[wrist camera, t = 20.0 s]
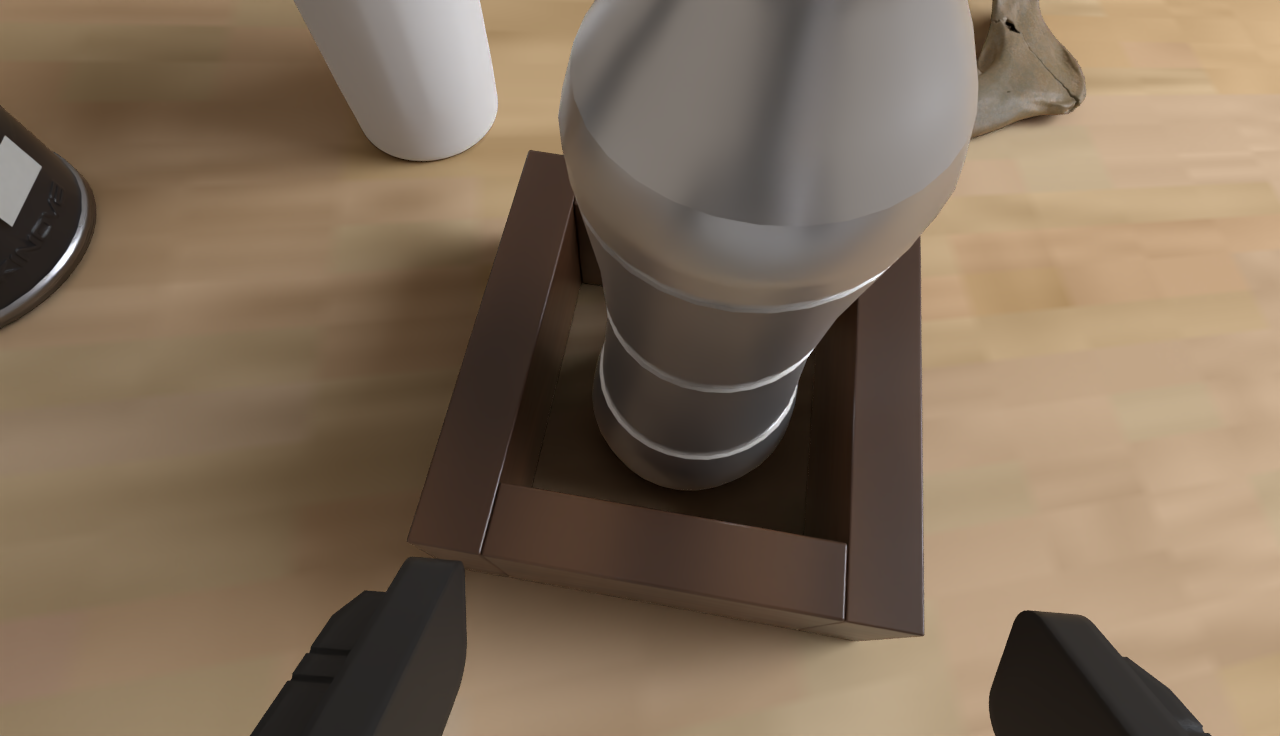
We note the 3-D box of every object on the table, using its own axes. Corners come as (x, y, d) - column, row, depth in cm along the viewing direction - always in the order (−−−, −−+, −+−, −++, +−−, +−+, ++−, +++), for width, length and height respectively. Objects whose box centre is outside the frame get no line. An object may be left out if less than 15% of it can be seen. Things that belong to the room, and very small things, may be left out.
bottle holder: (450, 567, 21) (404, 542, 17) (544, 235, 27) (528, 148, 22) (858, 641, 21) (925, 636, 16) (869, 286, 26) (920, 208, 22)
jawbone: (1119, 91, 32) (1153, 59, 30) (789, 280, 27) (803, 255, 25) (996, -28, 34) (1020, -66, 32) (672, 126, 30) (677, 93, 28)
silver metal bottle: (810, 455, 23) (1485, -268, 5) (641, 539, 22) (738, -41, 4) (723, 313, 26) (974, -537, 7) (565, 381, 24) (397, -456, 6)
